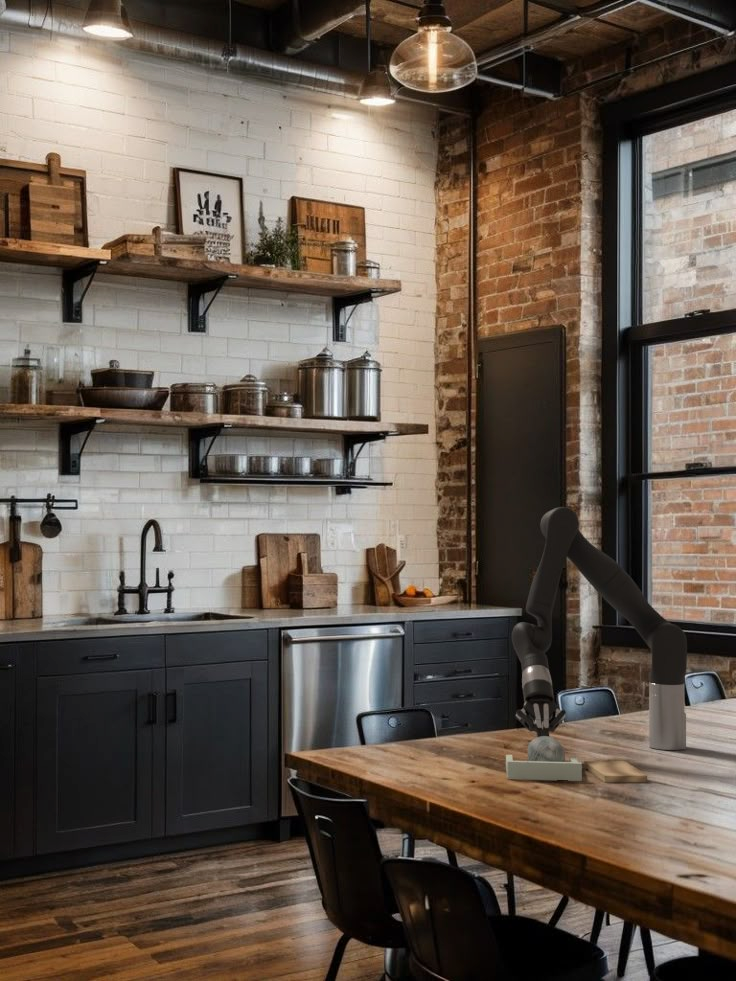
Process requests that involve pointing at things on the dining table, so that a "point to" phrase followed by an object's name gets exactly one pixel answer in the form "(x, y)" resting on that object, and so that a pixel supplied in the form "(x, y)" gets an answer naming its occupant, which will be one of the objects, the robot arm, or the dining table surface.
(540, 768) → the cradle
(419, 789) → the dining table surface
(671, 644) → the robot arm
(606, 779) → the oak board
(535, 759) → the grey stone
